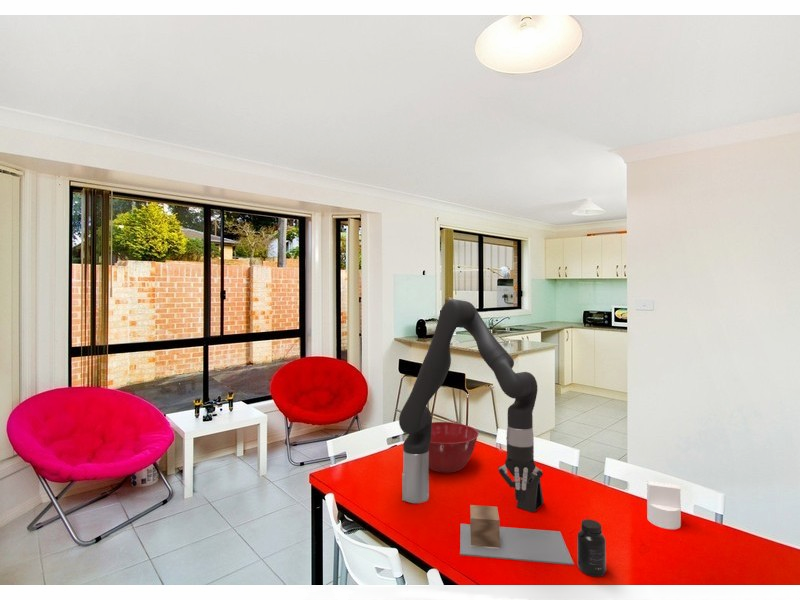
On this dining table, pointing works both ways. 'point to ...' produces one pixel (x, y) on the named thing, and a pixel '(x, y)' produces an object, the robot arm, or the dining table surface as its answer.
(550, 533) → the rubber mat
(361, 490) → the dining table surface
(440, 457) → the mixing bowl
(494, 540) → the walnut block
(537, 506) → the black coffee bag
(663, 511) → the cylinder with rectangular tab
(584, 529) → the supplement bottle
